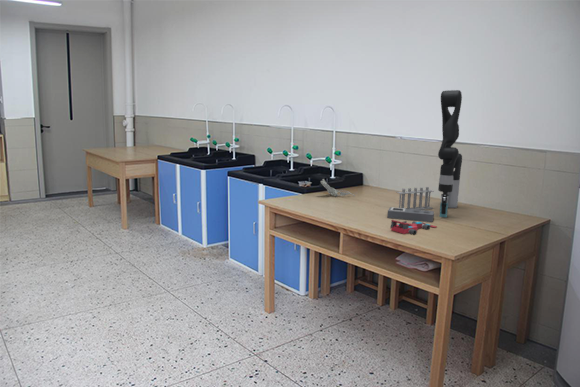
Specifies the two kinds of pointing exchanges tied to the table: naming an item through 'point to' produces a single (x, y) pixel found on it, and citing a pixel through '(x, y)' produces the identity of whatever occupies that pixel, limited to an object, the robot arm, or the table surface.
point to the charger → (441, 210)
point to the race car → (409, 226)
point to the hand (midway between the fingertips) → (443, 212)
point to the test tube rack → (415, 198)
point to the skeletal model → (333, 190)
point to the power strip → (410, 214)
